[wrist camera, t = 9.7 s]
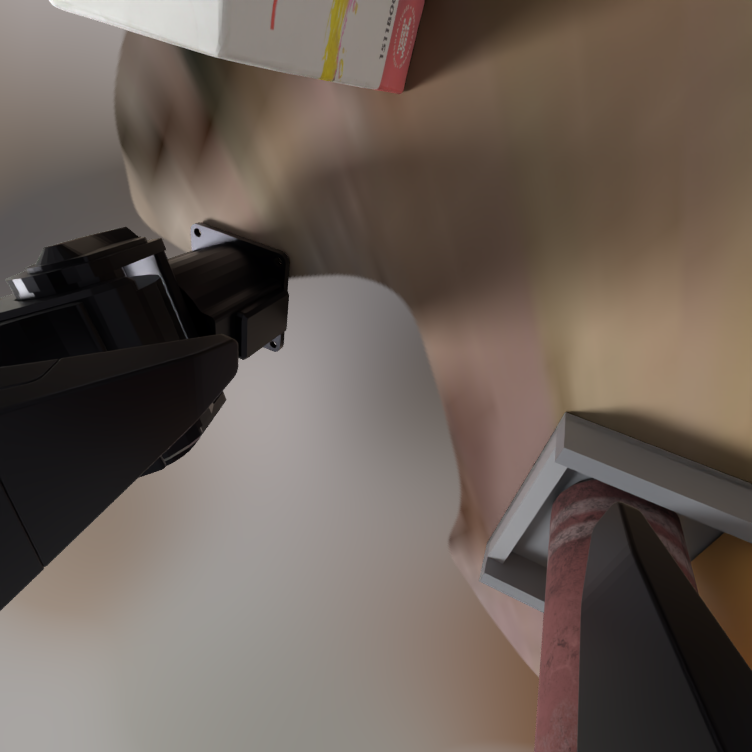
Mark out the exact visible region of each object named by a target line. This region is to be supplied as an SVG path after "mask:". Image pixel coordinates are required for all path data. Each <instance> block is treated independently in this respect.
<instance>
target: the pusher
mask: <svg viewBox="0 0 752 752" xmlns="http://www.w3.org/2000/svg"><path fill="white" fill-rule="evenodd" d="M691 565H692V569H693V573H694V577H695V581H696V585H697V589H698V593H699V596H700V597H701V598H702V600H703V601H704V603H705V604H706V606H707V607H708V608H709V610H710V611H711V613H712V614H713V616H714V617H715V618H716V620H717V621H718V623H719V624H720V626H721V627H722V628H723V630H724V631H725V633H726V634H727V636H728V637H729V639H730V640H731V641H732V643H733V644H734V646H735V647H736V649H737V650H738V651H739V653H740V654H741V656H742V657H743V659H744V660H745V661H746V663H747V664H748V666H749V667H750V669H751V670H752V543H749V542H747V541H744V540H742V539H740V538H737V537H735V536H732V535H730V534H727V533H725V532H724V533H723V534H722V535H721V536H720V537H719V538H718V539H716V540H715V541H714V542H713V543H712V544H711V545H710V546H709V547H707V548H706V549H705V550H704V551H703V552H702V553H701V554H699V555H698V556H697V557H696V558H695V559H694V560H693V561H691Z"/></svg>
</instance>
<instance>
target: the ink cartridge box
mask: <svg viewBox="0 0 752 752" xmlns="http://www.w3.org/2000/svg"><path fill="white" fill-rule="evenodd" d="M49 1H50V3H51V4H52V5H53V6H54V7H57V8H59V9H61V10H64V11H67V12H70V13H74V14H77V15H80V16H83V17H87V18H91V19H93V20H97V21H100V22H103V23H106V24H109V25H112V26H116V27H119V28H122V29H125V30H128V31H131V32H134V33H138V34H141V35H144V36H147V37H151V38H154V39H157V40H160V41H164V42H167V43H170V44H173V45H177V46H180V47H183V48H187V49H190V50H193V51H196V52H200V53H203V54H206V55H210V56H213V57H216V58H220V59H225V60H229V61H234V62H238V63H243V64H247V65H252V66H256V67H261V68H265V69H270V70H275V71H279V72H284V73H288V74H294V75H299V76H305V77H310V78H315V79H321V80H326V81H331V82H336V83H341V84H346V85H351V86H357V87H361V88H368V89H374V90H380V91H386V92H392V93H397V94H400V93H402V92H403V90H404V86H405V80H406V76H407V72H408V67H409V63H410V59H411V55H412V51H413V47H414V43H415V39H416V35H417V30H418V26H419V22H420V18H421V14H422V10H423V7H424V2H425V0H49Z"/></svg>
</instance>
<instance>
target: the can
mask: <svg viewBox="0 0 752 752" xmlns="http://www.w3.org/2000/svg"><path fill="white" fill-rule="evenodd" d="M617 501H621V502H623V503H626V504H628V505H630V506H633V507H635V508H637V509H639V510H640V511H641V512H642V514H643V515H644V517H645V518H646V520H647V521H648V522H649V524H650V525H651V527H652V528H653V530H654V531H655V532H656V534H657V535H658V537H659V538H660V540H661V541H662V542H663V544H664V545H665V547H666V548H667V550H668V551H669V552H670V554H671V555H672V557H673V558H674V560H675V561H676V563H677V564H678V565H679V567H680V568H681V570H682V571H683V573H684V574H685V575H686V577H687V578H688V580H689V581H690V583H691V584H692V585H693V587H694V588H695V590H696V591H697V593H698V589H697V585H696V581H695V577H694V573H693V569H692V565H691V561H690V557H689V554H688V550H687V546H686V542H685V538H684V534H683V530H682V526H681V522H680V518H679V516H678V515H677V513H676V512H674V511H672V510H669V509H667V508H664V507H662V506H660V505H657V504H655V503H652V502H650V501H648V500H645V499H643V498H640V497H638V496H635V495H633V494H631V493H628V492H626V491H623V490H621V489H618V488H616V487H614V486H611V485H609V484H606V483H604V482H602V481H599V480H597V479H594V478H590V479H586V480H582V481H579V482H577V483H575V484H574V485H572V486H570V487H569V488H567V489H566V490H564V491H563V492H561V493H560V495H559V496H558V497H557V499H556V500H555V501H554V503H553V505H552V511H551V518H550V532H549V546H548V561H547V575H546V590H545V604H544V619H543V633H542V648H541V662H540V676H539V692H538V705H537V720H536V734H535V749H534V752H577V729H578V691H579V653H580V615H581V601H582V593H583V586H584V580H585V573H586V567H587V560H588V554H589V547H590V541H591V535H592V531H593V528H594V526H595V525H596V523H597V522H598V521H599V520H600V518H601V517H602V516H603V515H604V514H605V512H606V511H607V510H608V509H609V507H610V506H611V505H612V504H613V503H615V502H617ZM698 594H699V593H698Z"/></svg>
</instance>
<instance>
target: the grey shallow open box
mask: <svg viewBox="0 0 752 752" xmlns="http://www.w3.org/2000/svg"><path fill="white" fill-rule="evenodd" d="M590 478H594V479H597V480H599V481H602V482H604V483H606V484H609V485H611V486H614V487H616V488H618V489H621V490H623V491H626V492H628V493H631V494H633V495H635V496H638V497H640V498H643V499H645V500H648V501H650V502H652V503H655V504H657V505H660V506H662V507H664V508H667V509H669V510H672V511H674V512H676V513H677V515H678V516H679V518H680V522H681V526H682V530H683V534H684V538H685V542H686V546H687V550H688V554H689V557H690V561H693V560H694V559H695V558H696V557H697V556H698V555H699V554H701V553H702V552H703V551H704V550H705V549H706V548H707V547H709V546H710V545H711V544H712V543H713V542H714V541H715V540H716V539H718V538H719V537H720V536H721V535H722V534H723V533H724V532H725V533H727V534H730V535H732V536H735V537H737V538H740V539H742V540H744V541H747V542H749V543H752V484H751V483H748V482H746V481H743V480H741V479H738V478H735V477H733V476H730V475H728V474H725V473H723V472H720V471H717V470H715V469H712V468H710V467H707V466H704V465H702V464H699V463H697V462H694V461H691V460H689V459H686V458H684V457H681V456H678V455H676V454H673V453H671V452H668V451H665V450H663V449H660V448H658V447H655V446H652V445H650V444H647V443H645V442H642V441H639V440H637V439H634V438H632V437H629V436H627V435H624V434H621V433H619V432H616V431H614V430H611V429H608V428H606V427H603V426H601V425H598V424H595V423H593V422H590V421H588V420H585V419H582V418H580V417H577V416H575V415H572V414H569V413H567V412H565V414H564V415H563V417H562V419H561V421H560V422H559V424H558V426H557V427H556V429H555V431H554V432H553V434H552V436H551V437H550V439H549V441H548V442H547V444H546V446H545V447H544V449H543V451H542V452H541V454H540V456H539V457H538V459H537V461H536V462H535V464H534V466H533V467H532V469H531V471H530V472H529V474H528V476H527V477H526V479H525V481H524V482H523V484H522V486H521V487H520V489H519V491H518V492H517V494H516V496H515V497H514V499H513V501H512V502H511V504H510V506H509V507H508V509H507V511H506V512H505V514H504V516H503V517H502V519H501V521H500V522H499V524H498V526H497V527H496V529H495V531H494V532H493V534H492V536H491V537H490V539H489V541H488V542H487V546H486V551H485V555H484V560H483V564H482V569H481V574H480V578H479V581H480V582H482V583H484V584H486V585H488V586H490V587H492V588H494V589H496V590H498V591H500V592H502V593H504V594H506V595H508V596H510V597H512V598H514V599H516V600H518V601H520V602H522V603H524V604H526V605H529V606H531V607H533V608H535V609H537V610H539V611H541V612H543V613H544V604H545V590H546V575H547V561H548V546H549V532H550V518H551V511H552V505H553V503H554V501H555V500H556V499H557V497H558V496H559V495H560V493H561V492H563V491H564V490H566V489H567V488H569V487H570V486H572V485H574V484H575V483H577V482H579V481H582V480H586V479H590Z"/></svg>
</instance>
